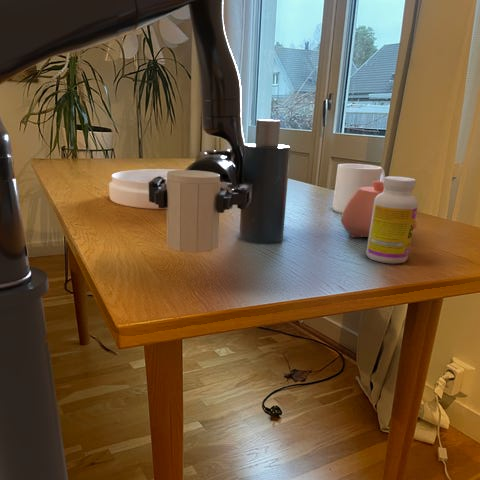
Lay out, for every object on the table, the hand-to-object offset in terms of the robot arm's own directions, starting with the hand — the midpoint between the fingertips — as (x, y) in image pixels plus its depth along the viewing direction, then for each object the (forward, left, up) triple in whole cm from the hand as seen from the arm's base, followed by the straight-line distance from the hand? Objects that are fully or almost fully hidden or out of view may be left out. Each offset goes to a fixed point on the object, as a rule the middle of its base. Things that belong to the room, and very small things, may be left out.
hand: (190, 202), depth 58 cm
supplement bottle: (+34, +9, -11) cm, 37 cm away
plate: (+4, +63, -11) cm, 64 cm away
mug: (+48, +46, -11) cm, 67 cm away
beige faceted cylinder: (0, +2, -6) cm, 6 cm away
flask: (+17, +24, -11) cm, 31 cm away
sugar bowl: (+40, +23, -11) cm, 47 cm away
